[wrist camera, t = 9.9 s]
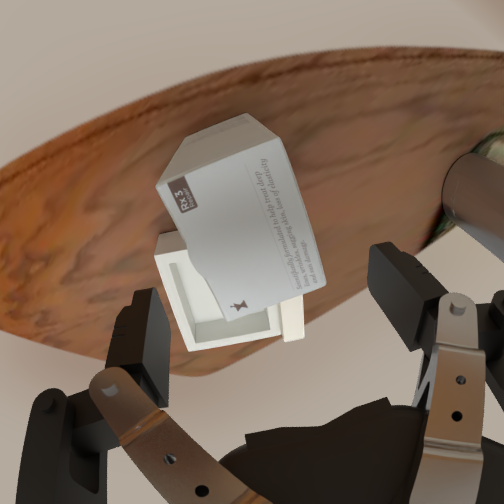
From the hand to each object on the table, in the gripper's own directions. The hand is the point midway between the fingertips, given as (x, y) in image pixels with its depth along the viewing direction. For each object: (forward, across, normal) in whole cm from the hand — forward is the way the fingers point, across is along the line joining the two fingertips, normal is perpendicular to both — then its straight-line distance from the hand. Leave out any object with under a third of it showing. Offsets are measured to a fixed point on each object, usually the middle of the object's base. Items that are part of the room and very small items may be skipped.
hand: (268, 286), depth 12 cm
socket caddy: (+18, +2, +11) cm, 21 cm away
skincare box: (+18, 0, 0) cm, 18 cm away
